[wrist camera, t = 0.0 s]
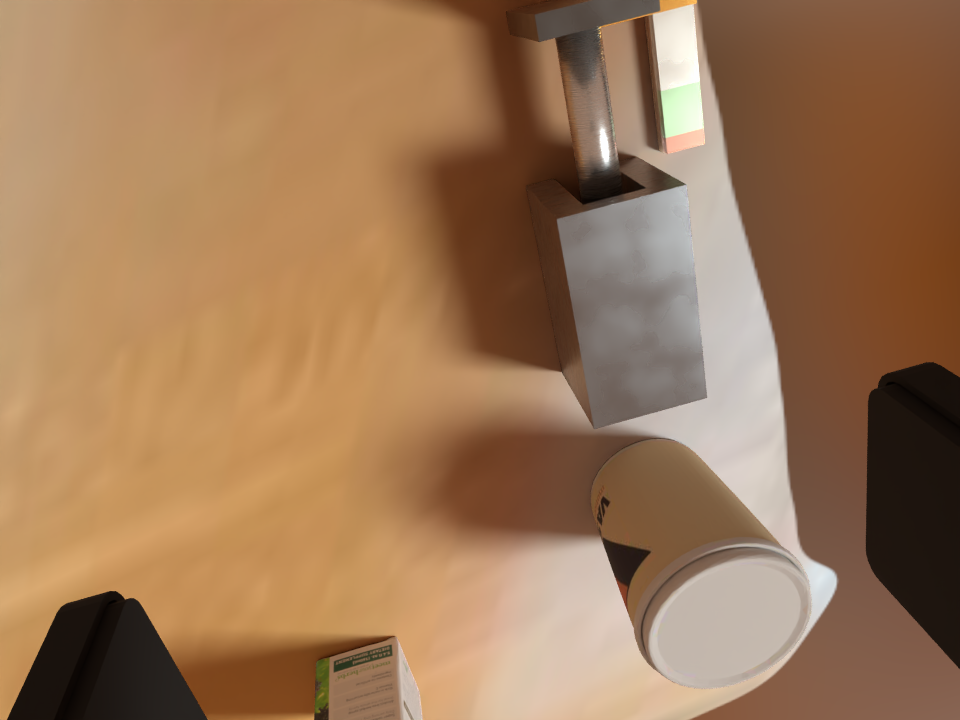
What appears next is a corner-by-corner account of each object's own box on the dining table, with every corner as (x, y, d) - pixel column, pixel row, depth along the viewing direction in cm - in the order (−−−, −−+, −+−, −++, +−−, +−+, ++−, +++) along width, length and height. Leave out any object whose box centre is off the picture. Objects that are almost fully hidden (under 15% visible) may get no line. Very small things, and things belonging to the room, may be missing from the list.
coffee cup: (556, 464, 47) (618, 602, 37) (696, 403, 47) (799, 523, 36) (602, 567, 51) (669, 718, 41) (731, 512, 51) (832, 649, 40)
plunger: (505, 11, 35) (534, 14, 30) (678, -33, 35) (738, -37, 30) (547, 237, 40) (579, 274, 35) (699, 196, 40) (753, 228, 35)
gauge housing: (492, 13, 36) (520, 17, 30) (684, -35, 36) (749, -40, 30) (562, 372, 44) (594, 429, 39) (715, 330, 45) (770, 380, 39)
